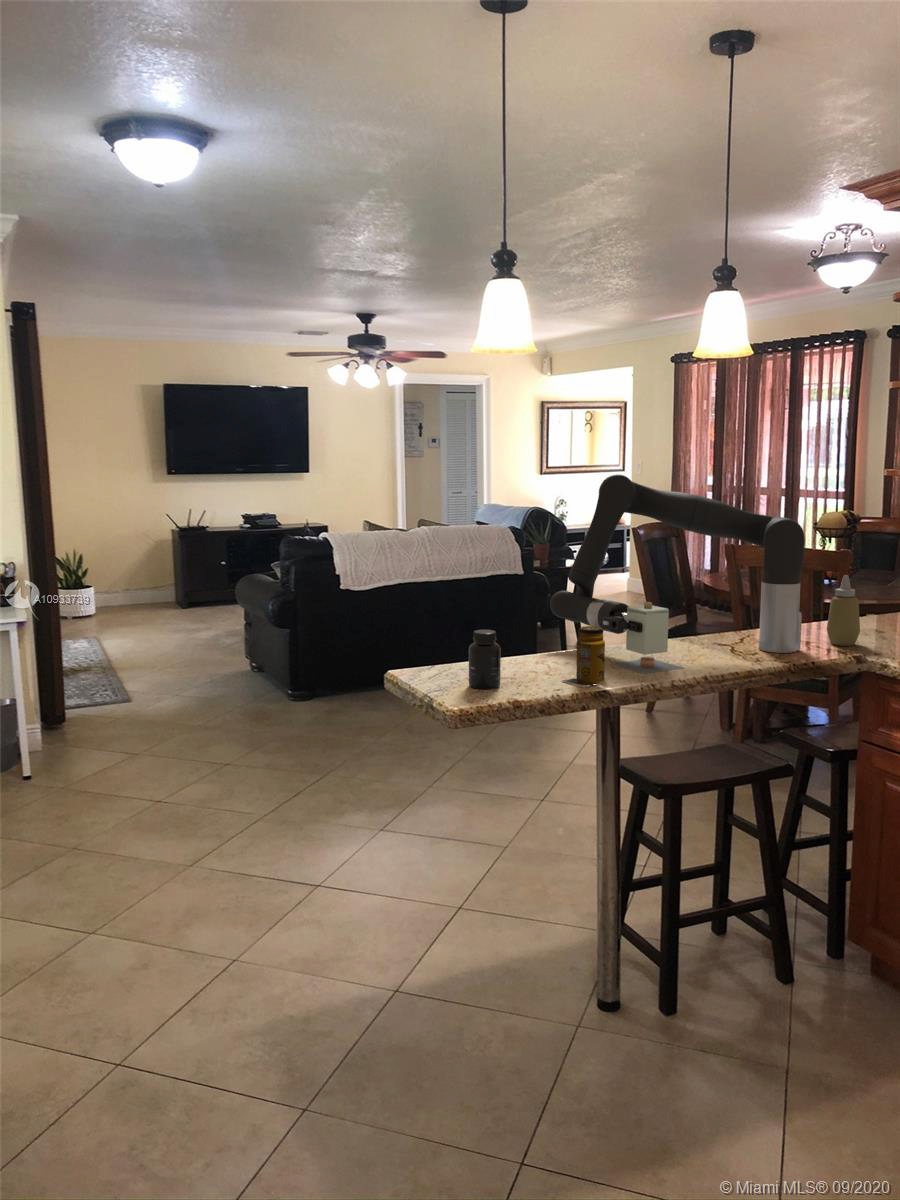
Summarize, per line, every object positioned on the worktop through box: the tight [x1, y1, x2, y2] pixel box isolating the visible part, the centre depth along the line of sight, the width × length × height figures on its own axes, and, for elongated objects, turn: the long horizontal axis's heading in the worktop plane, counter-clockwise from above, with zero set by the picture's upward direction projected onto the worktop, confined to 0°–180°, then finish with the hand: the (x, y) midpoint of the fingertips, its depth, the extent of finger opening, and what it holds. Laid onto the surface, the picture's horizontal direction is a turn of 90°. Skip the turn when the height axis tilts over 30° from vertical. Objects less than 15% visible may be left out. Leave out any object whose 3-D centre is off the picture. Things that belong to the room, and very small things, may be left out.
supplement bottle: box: [468, 629, 502, 691], centre depth 193 cm, size 7×7×12 cm
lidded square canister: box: [625, 601, 670, 656], centre depth 207 cm, size 7×7×11 cm
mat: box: [611, 659, 684, 675], centre depth 209 cm, size 12×12×1 cm
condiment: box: [561, 625, 606, 688], centre depth 195 cm, size 7×8×12 cm
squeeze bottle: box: [826, 574, 861, 647], centre depth 233 cm, size 8×8×18 cm
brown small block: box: [639, 656, 656, 667], centre depth 208 cm, size 3×3×2 cm
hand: (654, 626), depth 205 cm, fingers closed on lidded square canister, 6 cm apart
